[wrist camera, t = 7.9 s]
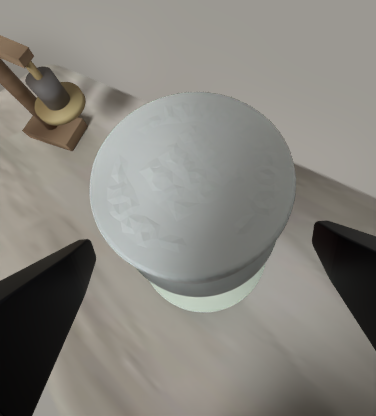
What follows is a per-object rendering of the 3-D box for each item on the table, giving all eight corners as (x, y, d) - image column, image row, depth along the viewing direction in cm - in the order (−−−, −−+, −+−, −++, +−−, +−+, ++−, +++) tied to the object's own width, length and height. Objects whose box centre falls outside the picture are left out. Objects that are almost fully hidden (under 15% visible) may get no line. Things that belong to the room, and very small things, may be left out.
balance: (116, 131, 21) (39, 0, 12) (98, 163, 20) (-3, 50, 11) (24, 104, 24) (-108, -26, 14) (4, 131, 23) (-154, 13, 13)
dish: (242, 333, 15) (244, 336, 14) (125, 281, 17) (119, 280, 16) (277, 212, 18) (281, 208, 17) (171, 178, 19) (169, 172, 18)
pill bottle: (228, 195, 17) (260, 48, 7) (260, 275, 15) (381, 253, 5) (151, 219, 17) (56, 110, 6) (172, 303, 15) (84, 347, 4)
